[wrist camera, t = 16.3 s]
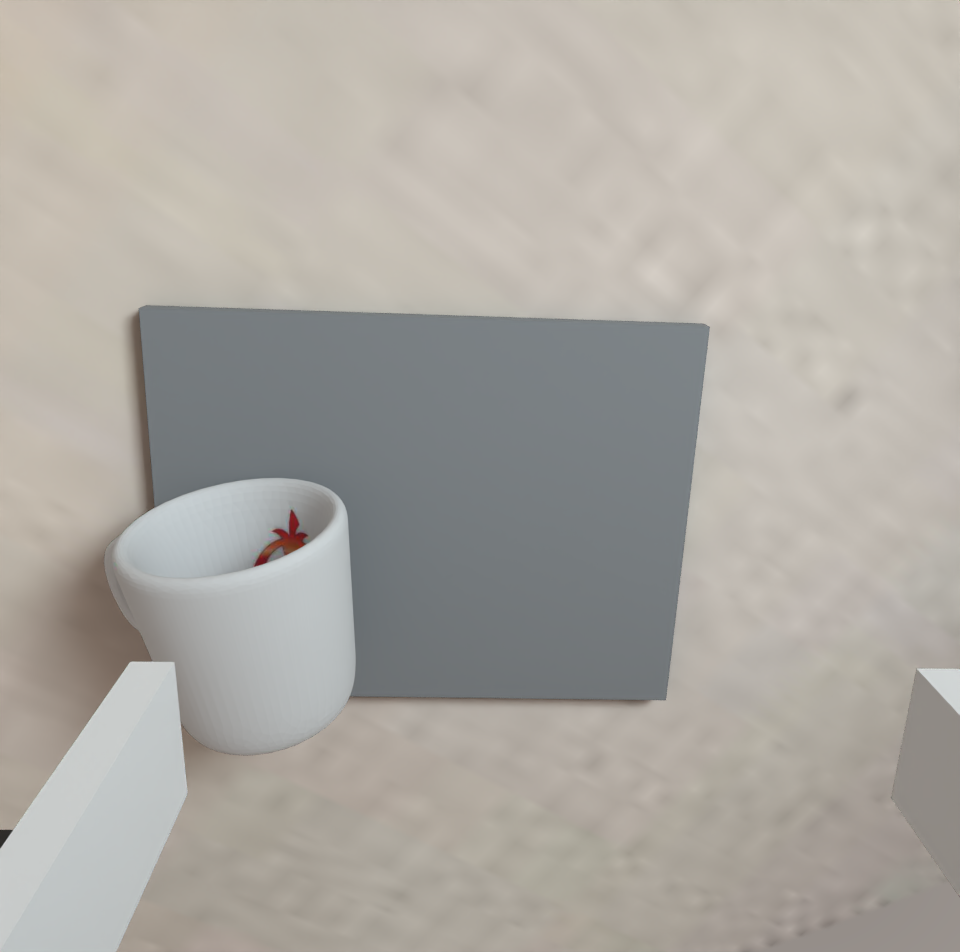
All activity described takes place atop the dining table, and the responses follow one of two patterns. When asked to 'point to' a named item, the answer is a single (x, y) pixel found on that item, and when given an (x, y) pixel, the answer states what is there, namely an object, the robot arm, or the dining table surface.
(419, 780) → the dining table surface
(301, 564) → the cup
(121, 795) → the robot arm
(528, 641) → the mat
